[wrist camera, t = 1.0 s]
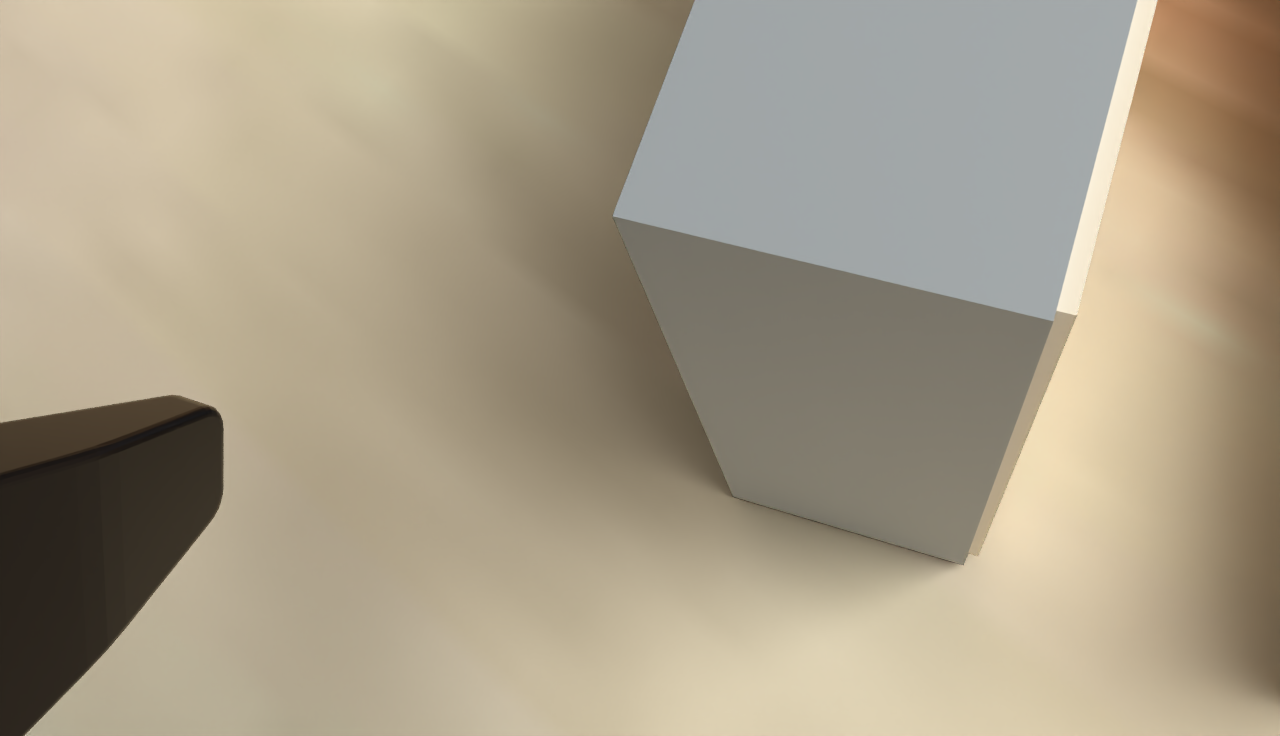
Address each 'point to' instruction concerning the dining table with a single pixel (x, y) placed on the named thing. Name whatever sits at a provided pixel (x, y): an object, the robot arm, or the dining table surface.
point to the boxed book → (878, 241)
